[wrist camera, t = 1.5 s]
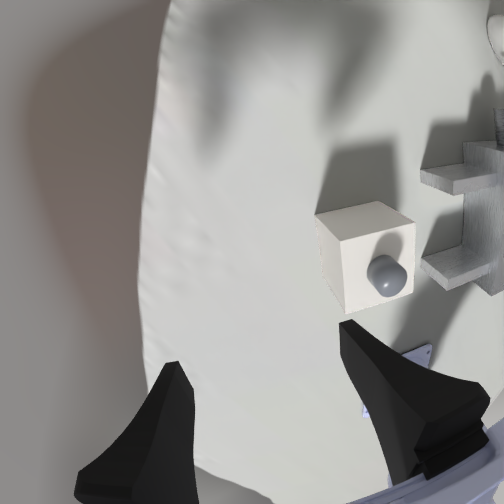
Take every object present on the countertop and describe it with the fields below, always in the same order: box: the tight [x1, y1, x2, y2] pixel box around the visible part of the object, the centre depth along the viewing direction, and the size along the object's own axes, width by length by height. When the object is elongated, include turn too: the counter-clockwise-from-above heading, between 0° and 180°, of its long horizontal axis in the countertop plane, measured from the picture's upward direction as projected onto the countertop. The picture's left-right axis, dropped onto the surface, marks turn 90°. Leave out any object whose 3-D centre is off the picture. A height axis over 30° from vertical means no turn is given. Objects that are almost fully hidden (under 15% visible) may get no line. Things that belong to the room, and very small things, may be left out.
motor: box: [420, 109, 504, 296], centre depth 19 cm, size 15×12×5 cm
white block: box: [314, 201, 415, 315], centre depth 19 cm, size 5×5×6 cm
